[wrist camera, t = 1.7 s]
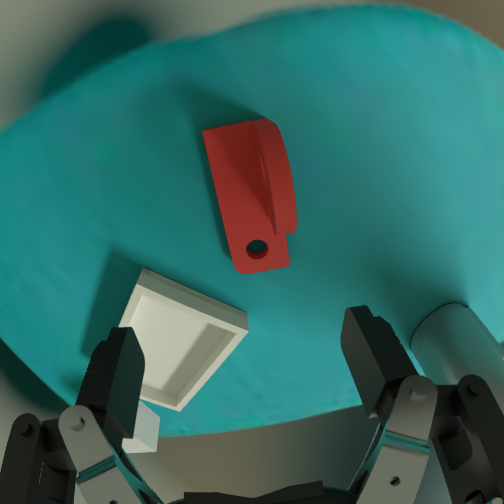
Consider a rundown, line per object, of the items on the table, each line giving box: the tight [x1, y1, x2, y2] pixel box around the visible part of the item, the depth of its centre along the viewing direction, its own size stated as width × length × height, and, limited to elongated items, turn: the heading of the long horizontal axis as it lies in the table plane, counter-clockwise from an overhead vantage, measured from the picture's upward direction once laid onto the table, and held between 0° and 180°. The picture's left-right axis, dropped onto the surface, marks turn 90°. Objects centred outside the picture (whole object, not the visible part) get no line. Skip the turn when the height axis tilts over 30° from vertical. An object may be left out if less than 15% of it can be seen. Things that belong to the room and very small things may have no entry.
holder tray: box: [118, 267, 249, 411], centre depth 29 cm, size 11×17×2 cm, turn 148°
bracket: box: [202, 118, 297, 274], centre depth 20 cm, size 12×4×8 cm, turn 9°
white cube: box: [122, 400, 160, 453], centre depth 34 cm, size 6×6×6 cm
